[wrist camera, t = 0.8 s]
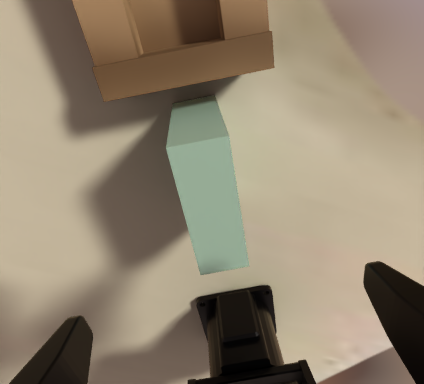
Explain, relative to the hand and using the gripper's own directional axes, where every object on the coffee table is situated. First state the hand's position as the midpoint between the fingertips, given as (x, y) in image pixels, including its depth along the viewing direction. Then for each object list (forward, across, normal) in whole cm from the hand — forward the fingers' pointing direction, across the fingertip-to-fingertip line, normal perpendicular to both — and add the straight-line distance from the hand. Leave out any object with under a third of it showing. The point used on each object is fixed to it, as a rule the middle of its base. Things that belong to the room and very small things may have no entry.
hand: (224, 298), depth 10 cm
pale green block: (+12, 0, 0) cm, 12 cm away
